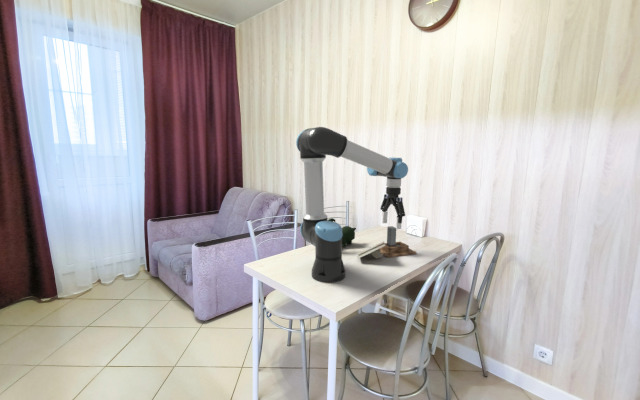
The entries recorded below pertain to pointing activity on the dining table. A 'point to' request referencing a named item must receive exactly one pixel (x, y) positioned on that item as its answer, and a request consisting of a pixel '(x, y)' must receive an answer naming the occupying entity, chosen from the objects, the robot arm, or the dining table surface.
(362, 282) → the dining table surface
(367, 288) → the dining table surface
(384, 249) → the brown wooden flat frame
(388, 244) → the bracket
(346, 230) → the toy figurine
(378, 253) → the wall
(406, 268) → the dining table surface
